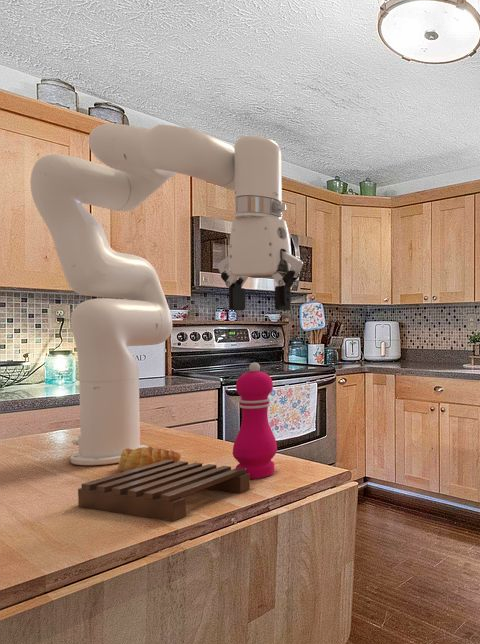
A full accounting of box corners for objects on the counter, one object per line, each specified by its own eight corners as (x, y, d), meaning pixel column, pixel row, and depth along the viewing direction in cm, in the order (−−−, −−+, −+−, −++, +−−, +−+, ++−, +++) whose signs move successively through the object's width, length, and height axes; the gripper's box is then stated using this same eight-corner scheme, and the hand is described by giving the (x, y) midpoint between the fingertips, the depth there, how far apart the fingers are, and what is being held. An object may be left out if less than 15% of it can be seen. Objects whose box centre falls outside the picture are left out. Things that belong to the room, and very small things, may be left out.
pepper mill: (260, 481, 84) (259, 364, 84) (223, 478, 86) (222, 363, 85) (285, 469, 91) (284, 361, 91) (250, 467, 93) (249, 360, 92)
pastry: (182, 460, 97) (182, 441, 97) (177, 469, 91) (177, 449, 91) (125, 465, 93) (124, 445, 93) (115, 475, 87) (115, 454, 87)
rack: (78, 506, 72) (77, 483, 72) (164, 478, 86) (164, 459, 86) (173, 521, 67) (173, 496, 67) (249, 489, 80) (249, 468, 80)
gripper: (314, 213, 88) (314, 310, 88) (235, 219, 93) (236, 311, 93) (286, 203, 80) (286, 309, 81) (201, 210, 86) (203, 309, 86)
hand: (259, 310), depth 87 cm, fingers open, 9 cm apart
